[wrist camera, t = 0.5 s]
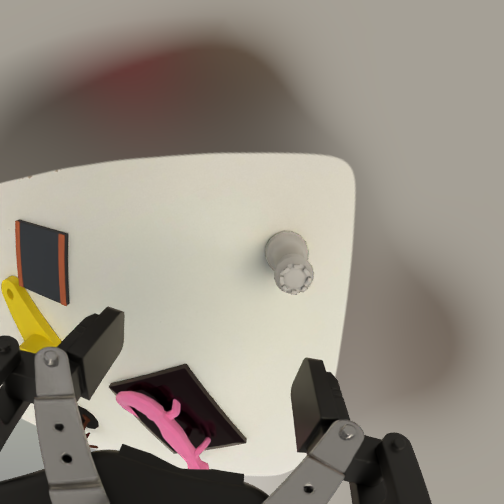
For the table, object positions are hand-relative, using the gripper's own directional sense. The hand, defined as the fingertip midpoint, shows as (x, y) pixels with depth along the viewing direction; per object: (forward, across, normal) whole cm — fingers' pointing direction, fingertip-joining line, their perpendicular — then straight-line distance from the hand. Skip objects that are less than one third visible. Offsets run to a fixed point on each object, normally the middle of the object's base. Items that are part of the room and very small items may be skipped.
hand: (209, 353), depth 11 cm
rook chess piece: (+19, -5, 0) cm, 20 cm away
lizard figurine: (+19, +2, +30) cm, 36 cm away
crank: (+19, +29, +22) cm, 41 cm away
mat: (+19, +26, +9) cm, 33 cm away
